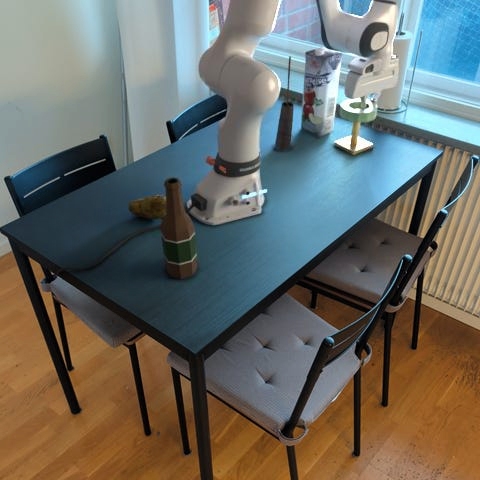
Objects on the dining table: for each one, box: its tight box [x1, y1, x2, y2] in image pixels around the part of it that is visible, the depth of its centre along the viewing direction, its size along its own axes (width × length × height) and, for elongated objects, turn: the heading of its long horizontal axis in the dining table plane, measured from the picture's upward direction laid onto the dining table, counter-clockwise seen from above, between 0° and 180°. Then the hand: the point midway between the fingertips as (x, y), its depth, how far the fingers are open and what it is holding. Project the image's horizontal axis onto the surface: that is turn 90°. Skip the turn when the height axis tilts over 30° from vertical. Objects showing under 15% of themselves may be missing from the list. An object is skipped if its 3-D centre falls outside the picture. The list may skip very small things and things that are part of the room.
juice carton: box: [300, 46, 343, 138], centre depth 174 cm, size 9×10×27 cm
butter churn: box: [274, 55, 295, 152], centre depth 164 cm, size 9×10×28 cm
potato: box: [128, 194, 167, 221], centre depth 142 cm, size 8×13×8 cm, turn 43°
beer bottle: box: [160, 177, 198, 280], centre depth 120 cm, size 8×8×24 cm
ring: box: [339, 98, 379, 123], centre depth 166 cm, size 11×11×3 cm
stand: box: [333, 108, 374, 156], centre depth 170 cm, size 9×9×12 cm
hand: (368, 106), depth 168 cm, fingers closed on ring, 2 cm apart
